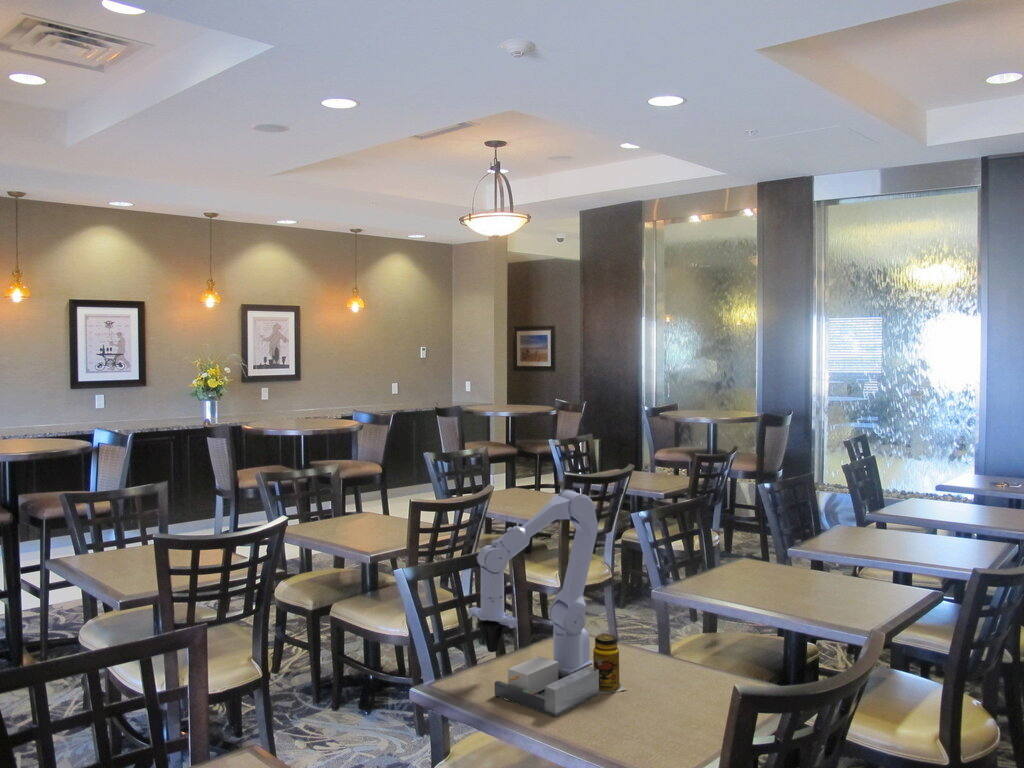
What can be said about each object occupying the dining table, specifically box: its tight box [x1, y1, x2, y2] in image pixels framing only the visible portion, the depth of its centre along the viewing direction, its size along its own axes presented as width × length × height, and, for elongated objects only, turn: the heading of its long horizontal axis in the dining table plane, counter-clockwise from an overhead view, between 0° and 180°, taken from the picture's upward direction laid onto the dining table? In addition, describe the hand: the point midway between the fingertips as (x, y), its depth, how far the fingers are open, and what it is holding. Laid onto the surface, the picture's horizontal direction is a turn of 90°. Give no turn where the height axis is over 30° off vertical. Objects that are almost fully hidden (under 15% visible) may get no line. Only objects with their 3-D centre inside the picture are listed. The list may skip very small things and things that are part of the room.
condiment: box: [592, 633, 628, 695], centre depth 198 cm, size 7×8×12 cm
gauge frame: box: [494, 665, 600, 718], centre depth 192 cm, size 16×18×6 cm
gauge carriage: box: [507, 655, 558, 693], centre depth 194 cm, size 14×6×5 cm, turn 138°
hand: (492, 650), depth 203 cm, fingers closed
